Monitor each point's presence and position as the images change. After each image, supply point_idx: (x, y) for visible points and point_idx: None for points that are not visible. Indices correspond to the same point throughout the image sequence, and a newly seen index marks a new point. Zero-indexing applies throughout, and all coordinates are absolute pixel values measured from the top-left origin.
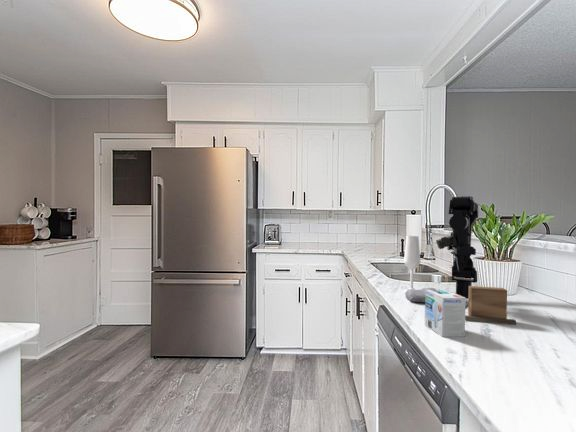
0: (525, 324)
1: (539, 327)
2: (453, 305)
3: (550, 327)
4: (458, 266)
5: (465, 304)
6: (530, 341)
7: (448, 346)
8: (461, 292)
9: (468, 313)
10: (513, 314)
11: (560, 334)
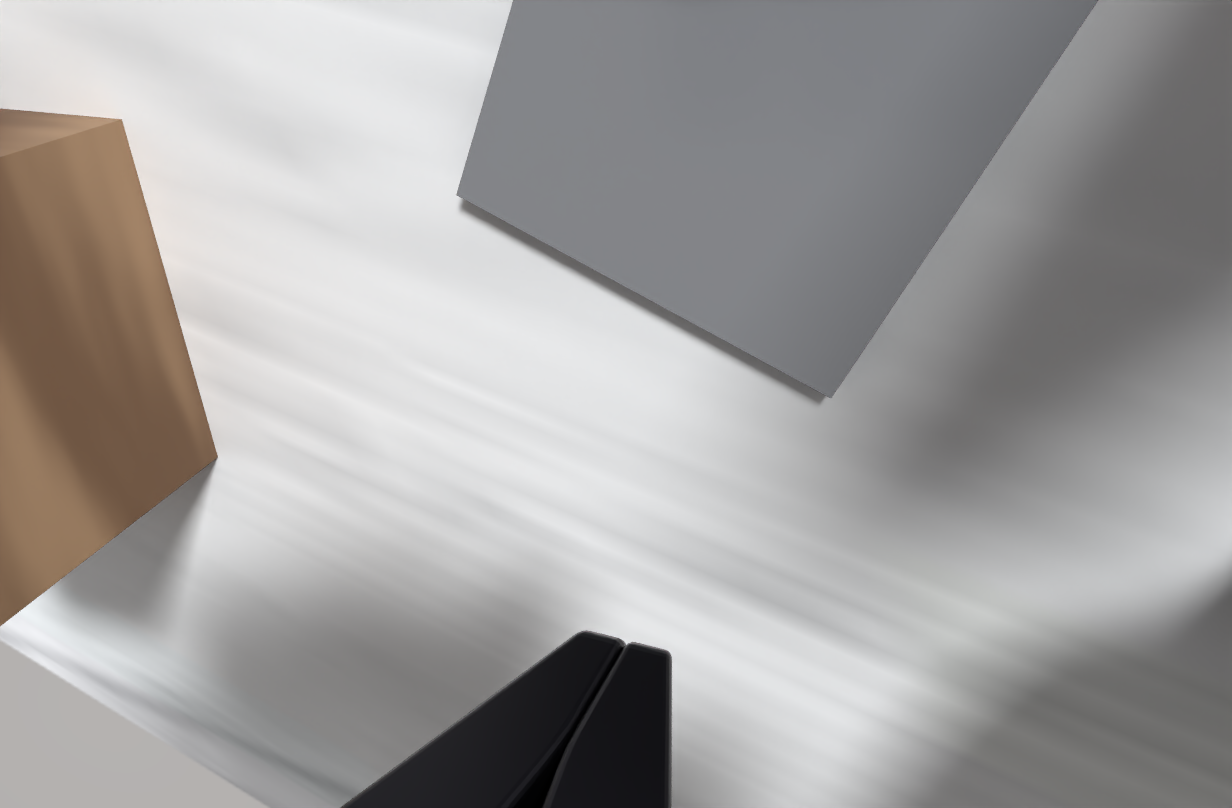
0: (148, 555)
1: (127, 606)
2: None
3: (173, 676)
4: (406, 760)
5: (633, 273)
6: None
7: None
8: None
9: (77, 128)
10: (441, 643)
11: (44, 634)
